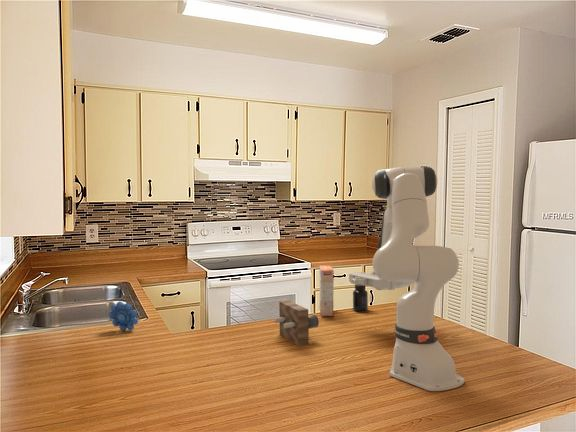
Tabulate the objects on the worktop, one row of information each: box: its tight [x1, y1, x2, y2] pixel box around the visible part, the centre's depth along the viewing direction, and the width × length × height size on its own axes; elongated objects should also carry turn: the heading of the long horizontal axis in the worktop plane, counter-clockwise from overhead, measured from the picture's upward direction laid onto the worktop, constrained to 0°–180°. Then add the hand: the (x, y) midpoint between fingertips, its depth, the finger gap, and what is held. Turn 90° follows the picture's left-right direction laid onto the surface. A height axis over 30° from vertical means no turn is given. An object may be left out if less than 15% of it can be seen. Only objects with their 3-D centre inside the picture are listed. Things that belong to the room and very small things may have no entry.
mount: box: [278, 300, 310, 347], centre depth 177 cm, size 16×4×13 cm, turn 27°
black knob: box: [284, 314, 320, 329], centre depth 174 cm, size 5×13×5 cm, turn 117°
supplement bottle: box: [352, 284, 369, 313], centre depth 219 cm, size 7×7×12 cm
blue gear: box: [108, 301, 139, 332], centre depth 189 cm, size 12×7×12 cm, turn 91°
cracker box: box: [319, 265, 335, 317], centre depth 215 cm, size 14×6×21 cm, turn 179°
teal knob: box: [274, 316, 286, 324], centre depth 181 cm, size 5×13×5 cm, turn 117°
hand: (352, 281), depth 183 cm, fingers closed
